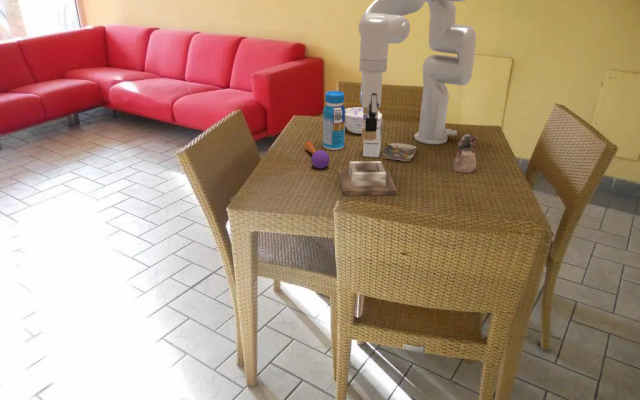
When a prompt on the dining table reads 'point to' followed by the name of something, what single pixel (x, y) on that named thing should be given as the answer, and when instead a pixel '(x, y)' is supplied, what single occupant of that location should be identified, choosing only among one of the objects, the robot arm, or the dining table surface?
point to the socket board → (366, 179)
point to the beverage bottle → (334, 121)
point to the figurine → (465, 155)
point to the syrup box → (374, 141)
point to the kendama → (317, 156)
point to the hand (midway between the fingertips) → (369, 127)
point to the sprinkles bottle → (365, 134)
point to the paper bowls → (354, 119)
